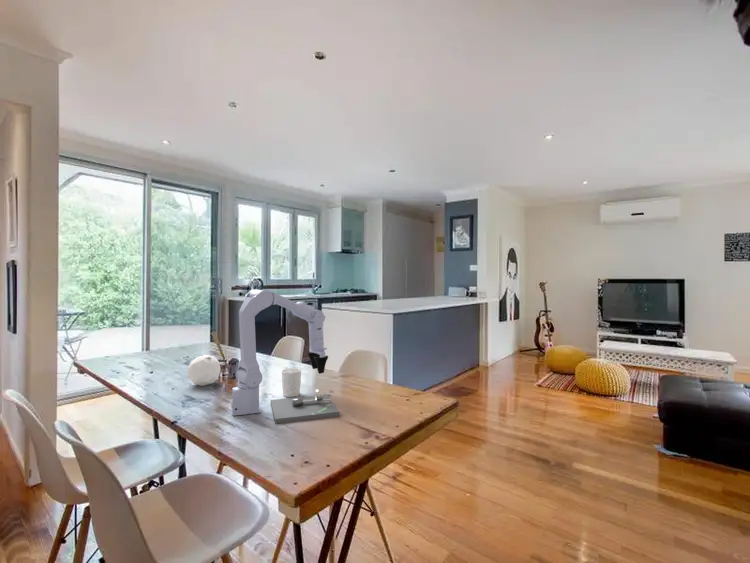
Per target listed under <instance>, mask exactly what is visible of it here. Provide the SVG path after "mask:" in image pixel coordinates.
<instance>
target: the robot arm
mask: <svg viewBox="0 0 750 563" xmlns="http://www.w3.org/2000/svg"><path fill="white" fill-rule="evenodd" d="M272 305H273V306H274V305H277V306H280V307H282V308H284V309H287V310H291V313H292V315H293V316H296V317H298V318H300V319H302V320H305V321H306V322H307V323H308V336H309V347H308V348H309V351H307V352H306V355H307V356H308V358H309V360H310V365H311V367H312V369H313V370H315V369H317V373H318V375H319V374H324V373H325V370H326V369H325V368H326V364H327V361H328V359H329V356H328V355H326V350H327V349H328V348H327V347H326V346H325V345H324V322H325V319H326V315H325V314H324V312H323V310H320V309H315V308H316V307H315V306H314V305H313V306H312V305H307V304H306V302H305V301H302V300H301V301H296V302H294V301H292V300H290V299H288V298H287V297H284V296H283V295H280V294H279V293H276V292H273V291H270V290H268V289H257V288H255V289H251V290H250V291H248V292H247V293H246V294H245V295H244V300H243V301H242V304H241V306H240V308H239V310H238V322H239V344H240V345H239V346H240V361H239V362H238V364H237V370H236V372H235V379H236V380H237V381H238V385H237V386H235V387H232V395H231V396H232V400H231V401H232V403H231V405H230V406H231V408H230V409H232V411H231V412H232V413H231V415H232V416H233V417H234V416H242V415H244V416H245V415H251V414H253V415H254V414H260V413H262V412H261V405H260V384H262V382H263V374H262V372H261V369H260V364H259V363H258V361H257V346H256V345H257V344H256V343H257V341H256V324H255V323H256V320H255V319H256V318H255V317H256V316H257V315H258V314H259V313H260V312H261V311H263V310H265V309H267V308H268V307H271V306H272Z"/></svg>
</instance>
